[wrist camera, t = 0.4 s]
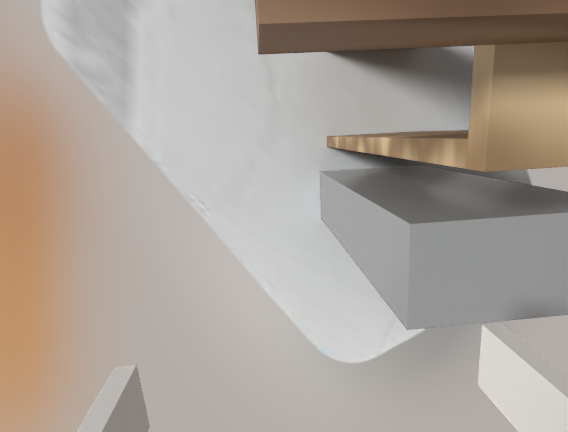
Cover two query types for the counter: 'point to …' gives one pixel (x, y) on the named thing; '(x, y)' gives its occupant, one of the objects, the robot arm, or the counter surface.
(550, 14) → the walnut rail
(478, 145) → the oak shelf
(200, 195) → the counter surface
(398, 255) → the stone block
